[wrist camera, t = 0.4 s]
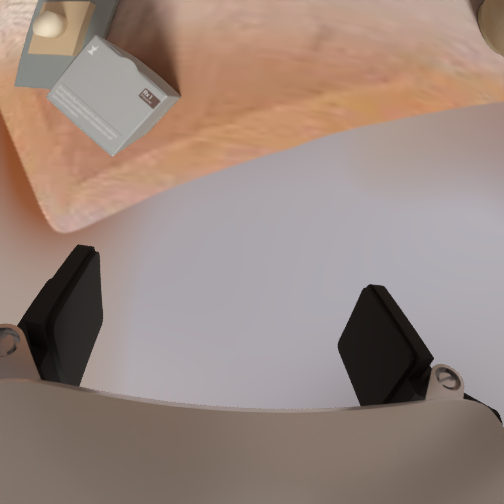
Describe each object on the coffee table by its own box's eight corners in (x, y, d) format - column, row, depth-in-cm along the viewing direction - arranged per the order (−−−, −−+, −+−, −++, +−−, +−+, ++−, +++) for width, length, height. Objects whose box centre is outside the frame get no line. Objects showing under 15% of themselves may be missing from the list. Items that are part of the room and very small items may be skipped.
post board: (51, -22, 22) (28, -34, 17) (128, -23, 25) (113, -40, 19) (18, 86, 29) (-10, 88, 23) (90, 93, 32) (68, 94, 26)
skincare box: (101, 95, 32) (35, 102, 18) (140, 51, 30) (91, 27, 16) (148, 137, 36) (105, 166, 22) (189, 94, 34) (168, 94, 20)
